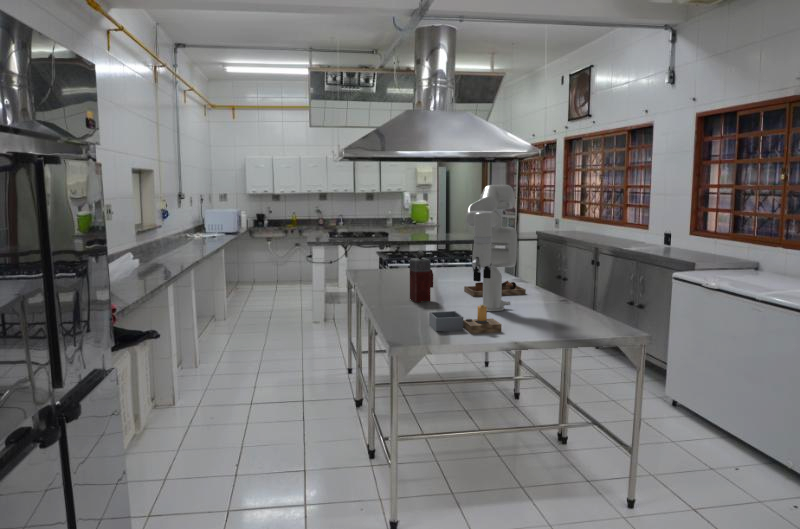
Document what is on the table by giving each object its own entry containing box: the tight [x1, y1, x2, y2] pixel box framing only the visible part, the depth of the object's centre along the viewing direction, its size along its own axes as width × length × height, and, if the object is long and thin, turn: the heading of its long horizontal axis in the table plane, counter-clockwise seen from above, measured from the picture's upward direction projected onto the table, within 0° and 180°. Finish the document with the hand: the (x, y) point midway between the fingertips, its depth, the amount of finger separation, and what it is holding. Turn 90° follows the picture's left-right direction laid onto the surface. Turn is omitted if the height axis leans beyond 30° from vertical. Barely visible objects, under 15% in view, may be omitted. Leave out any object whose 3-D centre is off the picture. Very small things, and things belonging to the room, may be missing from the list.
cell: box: [477, 303, 488, 324], centre depth 250 cm, size 4×4×10 cm
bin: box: [428, 310, 464, 332], centre depth 254 cm, size 12×12×6 cm
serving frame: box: [463, 284, 527, 298], centre depth 336 cm, size 32×17×3 cm, turn 101°
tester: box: [463, 318, 502, 335], centre depth 250 cm, size 14×11×4 cm
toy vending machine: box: [409, 250, 434, 303], centre depth 314 cm, size 9×11×28 cm
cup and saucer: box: [473, 281, 483, 291], centre depth 334 cm, size 12×12×6 cm
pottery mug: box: [502, 280, 517, 290], centre depth 337 cm, size 12×10×8 cm
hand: (482, 279), depth 248 cm, fingers open, 9 cm apart
